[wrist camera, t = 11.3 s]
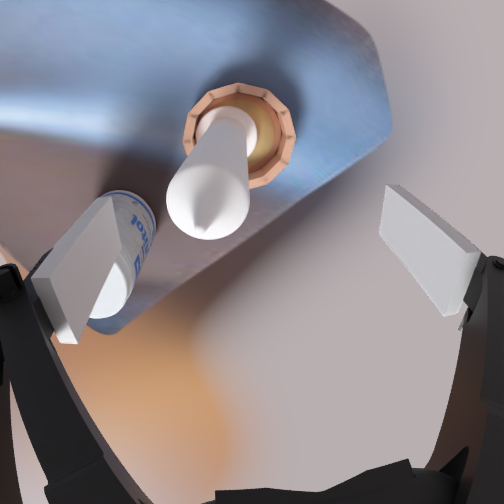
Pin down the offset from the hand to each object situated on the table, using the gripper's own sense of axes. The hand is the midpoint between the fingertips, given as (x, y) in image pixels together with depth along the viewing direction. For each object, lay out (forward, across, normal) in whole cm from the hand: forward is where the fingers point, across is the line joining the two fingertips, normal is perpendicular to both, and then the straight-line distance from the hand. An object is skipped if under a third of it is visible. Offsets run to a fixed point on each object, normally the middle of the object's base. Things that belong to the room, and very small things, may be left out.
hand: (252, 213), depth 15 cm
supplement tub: (+25, -16, -11) cm, 32 cm away
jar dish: (+25, 0, 0) cm, 25 cm away
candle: (+24, -1, 0) cm, 24 cm away
